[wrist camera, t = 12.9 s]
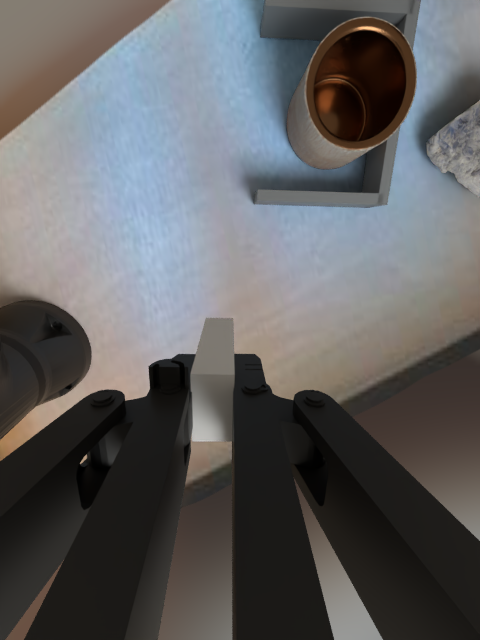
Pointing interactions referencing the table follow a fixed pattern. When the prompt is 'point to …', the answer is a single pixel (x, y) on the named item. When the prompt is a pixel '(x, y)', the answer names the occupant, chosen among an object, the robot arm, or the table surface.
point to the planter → (352, 93)
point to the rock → (459, 148)
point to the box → (314, 24)
